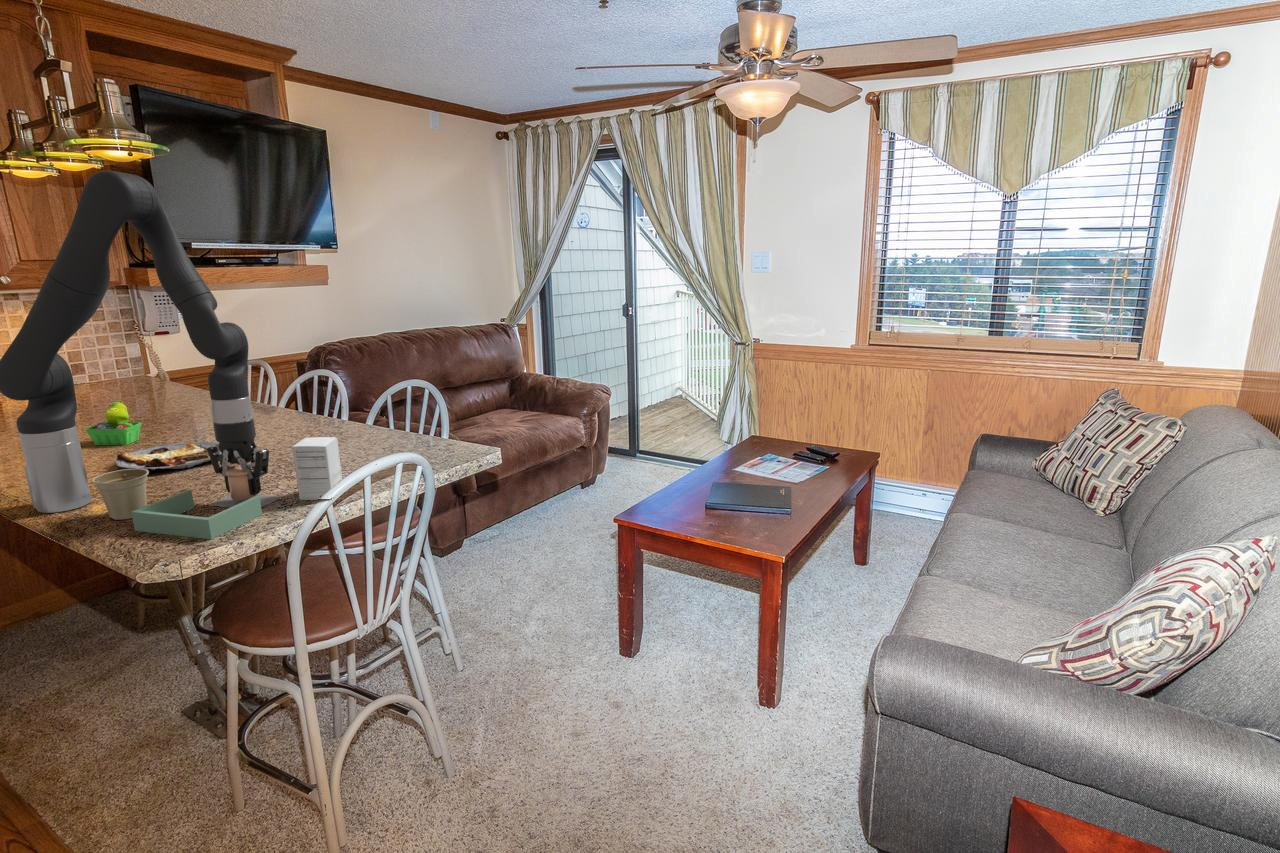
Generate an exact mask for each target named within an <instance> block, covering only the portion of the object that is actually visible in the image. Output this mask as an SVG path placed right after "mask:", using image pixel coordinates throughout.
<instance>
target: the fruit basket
mask: <svg viewBox="0 0 1280 853" xmlns="http://www.w3.org/2000/svg"><path fill="white" fill-rule="evenodd" d="M104 417H105V418H106V421H102V422H98V423H97V424H95V425H91V426H88V427H87V428H85V429H84V430H85V432H86V433H87V434H88V435H89V437H90V439H91V441H92V442H93V444H94V445H95V446H127V445H129V444H132V443H135V442H137V441H139V439H140V433H141V432H140V431H141V426H142V422H141V421H140V422H139V421H138V422H135V421H133V422H132V421H130V422H129V417H130V416H129V412H128V408H127V406H126V405H125V404H124V402H122V401H121V402H120V401H114V402H112V404H111V406H110V407H109V408H108V409H107V410H106V411H105V413H104Z"/></svg>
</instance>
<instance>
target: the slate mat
mask: <svg viewBox="0 0 1280 853" xmlns="http://www.w3.org/2000/svg"><path fill="white" fill-rule="evenodd" d="M256 496H258V497H260V502H261V507H262V508H264V507H266V506H268V505H267V504H269V503H271V504H272V502H273V503H274V501H275V502H276V500H277V501H279V500H281V499H283V497H282V496H277V495H266V494H258V495H256ZM252 498H253V497H252ZM280 498H281V499H280ZM248 499H251V498H248ZM248 499H241V500H235V499H232V498H231V495H230V494H229V495H227V496H225V497H223V498H221V499H219V500H217V501H214V502H211V503H209V504H208V505H209V506H208V507H213V506H219V507H218V508H223V507H228V508H231V507H233V506H235V505H237V504H240V503H242V502H244V501H246V500H248ZM278 499H279V500H278ZM265 505H266V506H265ZM269 505H270V504H269ZM263 506H264V507H263ZM228 508H227V509H228Z"/></svg>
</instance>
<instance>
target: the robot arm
mask: <svg viewBox="0 0 1280 853" xmlns="http://www.w3.org/2000/svg"><path fill="white" fill-rule="evenodd" d="M166 211H167V210H166V209H165V207H164V205H163V202H162V200H161V198H160V197H159V194H158V193H157V190H156V189H155V188H154V187H153V185H152V184H151V183H150V182H149V181H148V180H147V179H145V178H143V177H142V176H139V175H136V174H133V173H126V172H121V171H117V170H101V171H100V170H99V171H97V172H95V173H93V174H92V175H91V176H90V177H89V178H88V179H87V181H86V182H85V184H84V186H83V189H82V192H81V194H80V196H79V201H78V203H77V207H76V210H75V212H74V215H73V220H72V222H71V225H70V228H69V230H68V232H67V233H66V236H65V237H64V240H63V242H62V245H61V246H60V249H59V251H58V254H57V256H56V258H55V260H54V261H53V264H52V265H51V267H50V268H49V270H48V272H47V275H46V276H45V278H44V280H43V282H42V285H41V287H40V289H39V292H38V295H37V296H36V299H35V300H34V303H33V304H32V306H31V308H30V310H29V311H28V314H27V316H26V319H25V320H24V322H23V324H22V327H21V328H20V329H19V331H18V333H17V334H16V336H15V337H14V339H13V341H12V342H11V344H9V347H8V348H7V349H6V351H5V352H4V353H3V355H2V357H1V358H0V393H1V394H2V396H5V397H6V398H8V399H10V400H15V401H28V403H27V406H26V408H25V409H24V411H23V412H22V413H21V414H20V415H19V416H18V417H17V419H16V422H15V423H16V427H17V431H18V432H17V433H18V436H19V440H20V441H19V442H20V445H21V448H22V452H23V456H24V457H23V458H24V460H25V465H24V467H23V469H24V473H25V478H26V482H27V486H28V491H29V496H30V499H31V504H32V508H33V509H35V510H36V512H39V513H43V514H45V513H46V514H49V513H51V514H53V513H60V512H67V511H71V510H72V511H73V510H75V509H78V508H82V507H85V506H87V505H88V504H90V503H91V502H92V501H93V500H92V494H91V489H90V486H89V479H88V476H87V470H86V466H85V460H84V456H83V452H82V451H83V450H82V448H81V442H80V437H79V434H78V433H79V432H78V429H77V423H76V416H77V411H78V403H77V402H78V401H77V397H76V390H75V384H74V383H75V382H74V377H73V376H74V375H73V373H72V370H71V368H70V366H69V363H68V362H67V361H66V360H65V359H64V357H62V355H60V354H58V353H59V351H60V349H61V348H62V347H63V345H65V343H66V342H68V340H69V339H71V337H72V336H74V335H75V334H76V333H77V332H78V331H79V330H80V329H82V327H83V326H85V325H86V324H87V322H89V321H90V319H91V318H92V317H93V316H94V315H95V314H96V312H97V310H98V309H99V307H100V305H101V303H102V301H103V299H104V297H105V295H106V293H107V291H108V289H109V286H110V280H111V271H110V270H111V269H110V252H111V248H112V247H111V246H112V244H113V242H114V240H115V239H116V237H117V235H118V234H119V232H120V230H121V228H122V227H123V226H124V224H125V223H130V225H131V226H132V227H133V228H134V229H135V230H136V231H137V232H138V234H139V235H140V236H141V237H142V239H143V241H145V243H146V245H147V247H148V249H149V251H150V254H151V256H152V260H153V264H154V268H155V271H156V276H157V278H158V281H159V283H160V285H161V287H162V288H163V290H164V291H165V293H166V294H167V296H168V298H169V299H170V301H171V302H172V304H173V305H174V306H175V308H176V309H177V310H178V312H179V313H180V314H181V318H182V321H183V324H184V326H185V329H186V331H187V333H188V336H189V339H190V341H191V343H192V345H193V346H194V348H195V349H196V350H197V351H198V352H199V354H200V355H202V356H203V357H204V358H207V359H209V360H213V361H214V368H213V369H212V370H211V371H210V372H209V373H208V375H207V383H208V390H209V396H210V410H211V413H210V414H211V418H212V419H211V420H212V424H213V432H214V437H215V441H216V442H218V443H219V445H215V446H212V447H209V448H207V451H208V454H209V458H210V459H211V460H210V462H211V465H212V467H213V470H214V473H215V474H220V475H222V477H223V478H224V484H225V488H226V490H227V493H229V494H230V489H229V482H228V476H227V475H226V473H225V471H226V470H229V469H230V468H232V467H233V468H235V467H237V466H241V468H242V470H245V472H247V476H248V478H249V479H248V484H249V491H250V495H256V494H258V495H259V494H260V493H261V490H262V487H261V479H260V477H262V476H265V475H267V474H268V472H269V459H270V458H269V456H270V450H269V449H268V448H264V449H262V448H259V447H257V445H256V443H255V437H256V436H257V432H256V426H255V419H254V412H253V406H252V400H251V398H250V393H249V385H248V380H247V371H248V370H247V369H248V363H249V343H248V342H249V341H248V338H247V335H246V333H245V331H244V330H243V328H242V327H240V326H239V324H236V323H233V322H228V321H227V322H220V321H219V319H218V316H217V314H216V312H215V310H216V309H218V301H217V299H216V298H215V295H214V294H213V293H212V291H211V290H210V288H209V287H208V285H207V284H206V282H205V280H204V279H203V277H202V276H201V275H200V273H199V272H198V270H197V269H196V267H195V265H194V264H193V262H192V261H191V259H190V257H189V255H188V254H187V252H186V250H185V248H184V246H183V245H182V244H183V243H182V242H181V240H180V238H179V236H178V234H177V232H176V229H175V228H174V226H173V224H172V223H171V220H170V217H169V216H168V214H167V212H166ZM248 463H249V464H248ZM251 468H252V469H254V470H255V472H252V470H251Z"/></svg>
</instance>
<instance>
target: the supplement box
mask: <svg viewBox="0 0 1280 853" xmlns="http://www.w3.org/2000/svg"><path fill="white" fill-rule="evenodd" d="M338 441H339V440H338V437H336V436H335V437H333V436H329V437H328V436H325V437H324V436H322V437H321V436H319V437H316V436H315V437H303V439H302V440H300V441H298V442H297V443H296V444H294V445H292V455H293V460H294V470H295V476H296V485H297V491H298V498H299V500H301V501H314V500H316V501H317V500H318V499H319V498H321V497H322V496H323V495H324V494H325V493H326V492H327V491H328V490H330V489H331V488H332V487H333V486H334V485H336V484H337V483H338V482H339V481H340V480H342V481H343V476H342V470H341V459H340V451H339V443H338ZM318 501H319V500H318Z"/></svg>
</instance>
